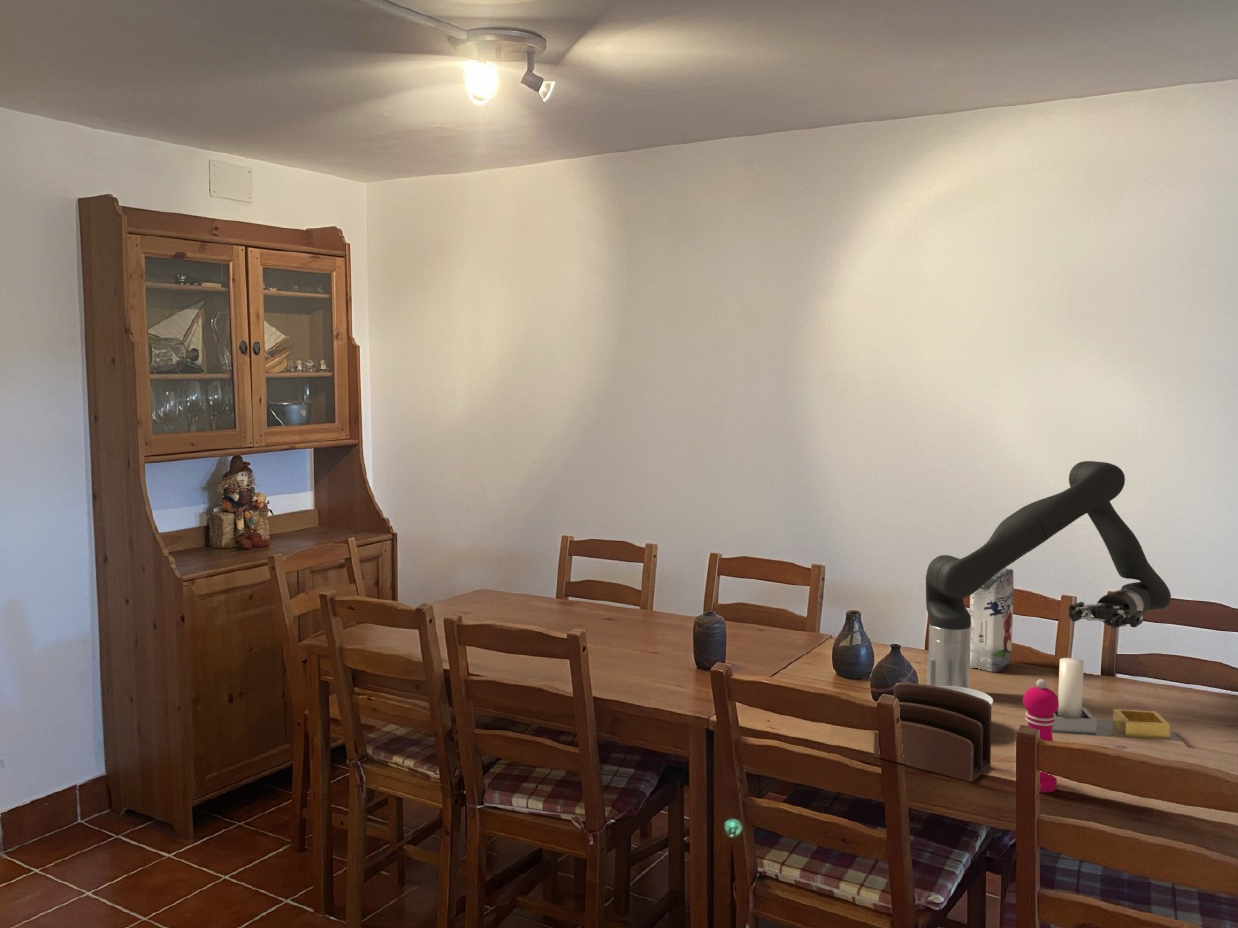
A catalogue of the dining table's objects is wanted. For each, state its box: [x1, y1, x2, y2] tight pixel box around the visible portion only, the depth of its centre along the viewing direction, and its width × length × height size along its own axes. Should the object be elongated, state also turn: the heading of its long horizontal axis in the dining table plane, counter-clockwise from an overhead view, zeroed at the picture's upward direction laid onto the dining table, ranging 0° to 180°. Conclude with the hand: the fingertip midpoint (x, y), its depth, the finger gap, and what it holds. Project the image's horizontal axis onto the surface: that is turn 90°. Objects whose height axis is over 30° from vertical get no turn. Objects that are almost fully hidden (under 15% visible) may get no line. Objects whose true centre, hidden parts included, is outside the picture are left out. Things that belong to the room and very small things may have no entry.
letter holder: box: [873, 682, 992, 783], centre depth 191 cm, size 10×20×14 cm, turn 50°
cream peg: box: [1057, 657, 1085, 718], centre depth 207 cm, size 5×5×14 cm
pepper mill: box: [1022, 678, 1059, 793], centre depth 179 cm, size 7×7×20 cm
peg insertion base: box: [1052, 706, 1181, 741], centre depth 207 cm, size 26×10×4 cm, turn 79°
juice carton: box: [969, 567, 1014, 673], centre depth 253 cm, size 9×10×27 cm
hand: (1093, 620), depth 214 cm, fingers open, 8 cm apart
